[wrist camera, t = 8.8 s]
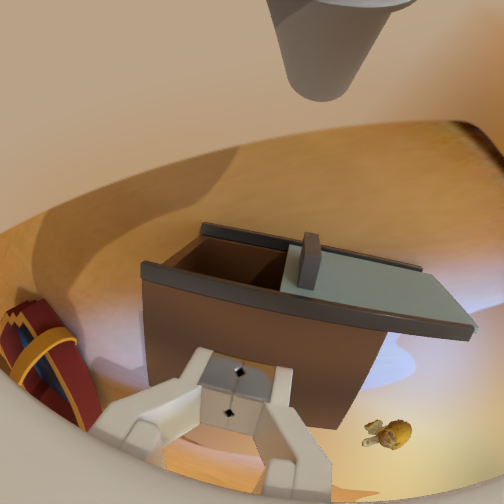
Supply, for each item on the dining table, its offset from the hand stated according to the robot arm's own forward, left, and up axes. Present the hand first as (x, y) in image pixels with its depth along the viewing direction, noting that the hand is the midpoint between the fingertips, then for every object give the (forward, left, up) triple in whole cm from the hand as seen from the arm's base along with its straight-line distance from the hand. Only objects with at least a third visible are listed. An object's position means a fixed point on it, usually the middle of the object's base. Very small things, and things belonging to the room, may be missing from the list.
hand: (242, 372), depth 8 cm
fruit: (+29, +23, -22) cm, 43 cm away
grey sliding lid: (+1, +9, -21) cm, 23 cm away
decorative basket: (+37, -40, -22) cm, 59 cm away
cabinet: (+8, +3, -22) cm, 24 cm away
